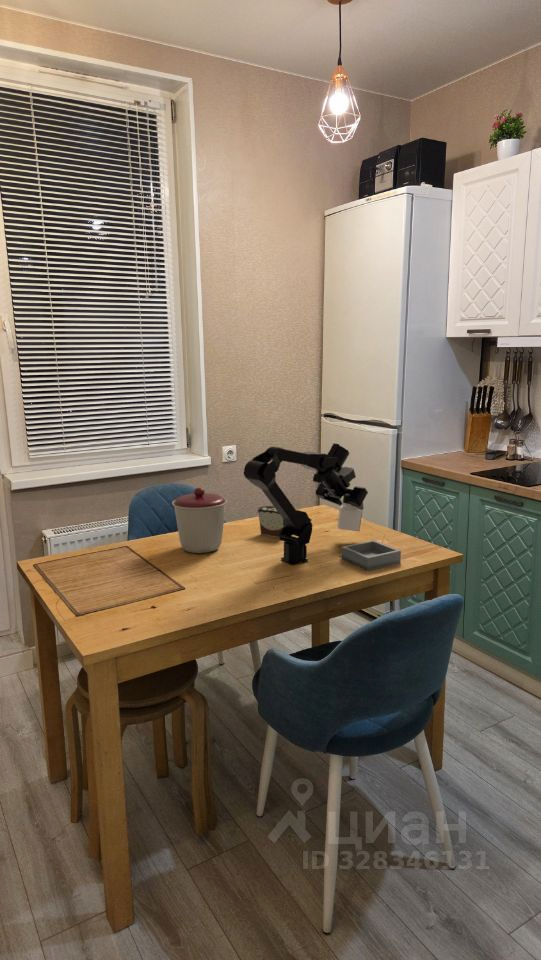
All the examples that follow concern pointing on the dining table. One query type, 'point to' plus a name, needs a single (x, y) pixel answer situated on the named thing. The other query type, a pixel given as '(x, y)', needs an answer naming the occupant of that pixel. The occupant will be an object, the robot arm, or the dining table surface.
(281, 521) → the food container
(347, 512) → the medicine bottle
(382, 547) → the open-top box
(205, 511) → the canister
